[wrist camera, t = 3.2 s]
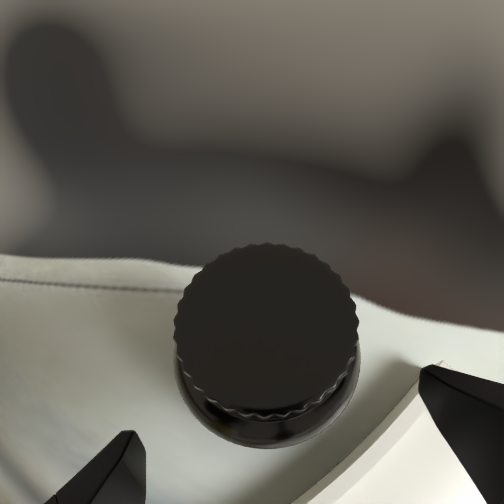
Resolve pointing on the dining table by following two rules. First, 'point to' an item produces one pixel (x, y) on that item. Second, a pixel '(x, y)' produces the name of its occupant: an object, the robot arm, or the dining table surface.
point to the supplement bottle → (266, 346)
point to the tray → (399, 464)
